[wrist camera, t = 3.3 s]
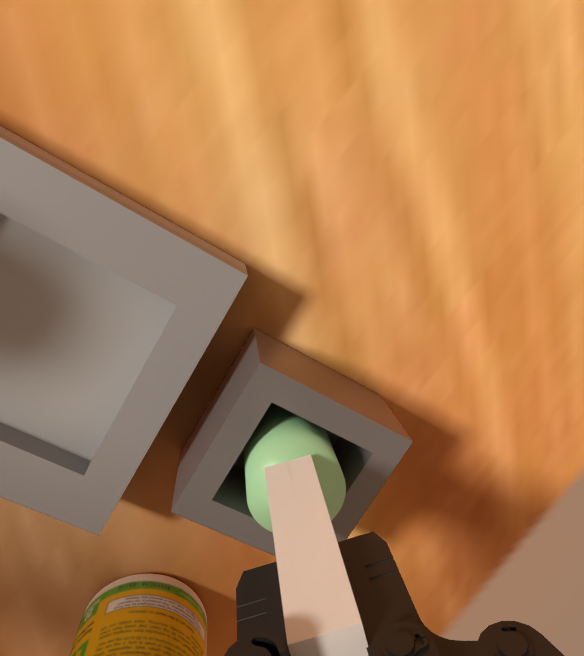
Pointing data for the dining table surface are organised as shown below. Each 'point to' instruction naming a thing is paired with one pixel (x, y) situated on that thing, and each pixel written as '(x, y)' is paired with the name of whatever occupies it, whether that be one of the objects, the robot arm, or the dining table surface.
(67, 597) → the dining table surface
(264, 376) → the grey square holder
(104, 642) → the supplement bottle
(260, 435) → the light green egg
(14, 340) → the grey slotted tray
